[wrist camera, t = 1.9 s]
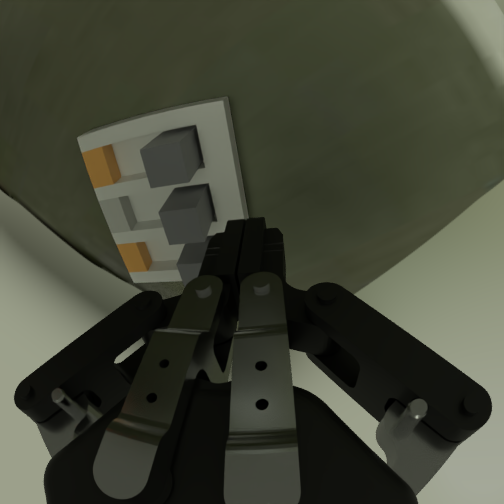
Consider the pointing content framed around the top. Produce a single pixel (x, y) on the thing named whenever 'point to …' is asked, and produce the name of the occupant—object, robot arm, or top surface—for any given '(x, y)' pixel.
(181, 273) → the tab
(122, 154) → the switch bank
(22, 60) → the top surface
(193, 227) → the tab
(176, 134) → the tab
